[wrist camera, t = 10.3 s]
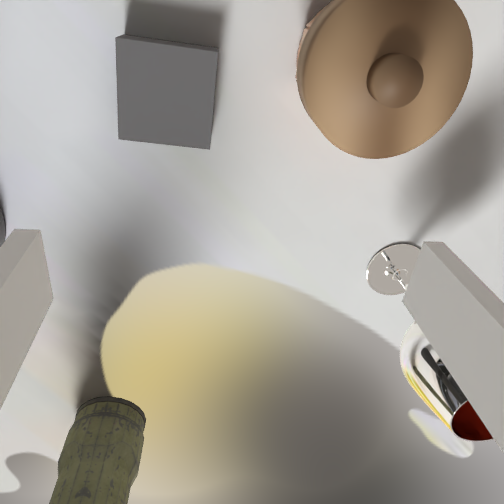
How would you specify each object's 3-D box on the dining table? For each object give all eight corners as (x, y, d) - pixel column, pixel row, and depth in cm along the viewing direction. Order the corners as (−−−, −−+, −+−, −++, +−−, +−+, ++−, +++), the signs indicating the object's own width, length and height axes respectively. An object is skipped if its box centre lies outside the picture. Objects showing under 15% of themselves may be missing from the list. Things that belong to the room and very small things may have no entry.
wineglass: (383, 225, 41) (482, 361, 25) (450, 249, 43) (580, 389, 27) (344, 288, 44) (409, 440, 29) (407, 308, 46) (499, 460, 31)
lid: (285, 133, 30) (297, 158, 25) (313, -31, 25) (335, -38, 20) (413, 148, 32) (447, 174, 27) (465, -5, 26) (519, -6, 22)
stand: (126, 128, 34) (118, 139, 32) (124, 34, 31) (115, 37, 28) (210, 138, 35) (209, 149, 33) (218, 48, 32) (218, 52, 29)
